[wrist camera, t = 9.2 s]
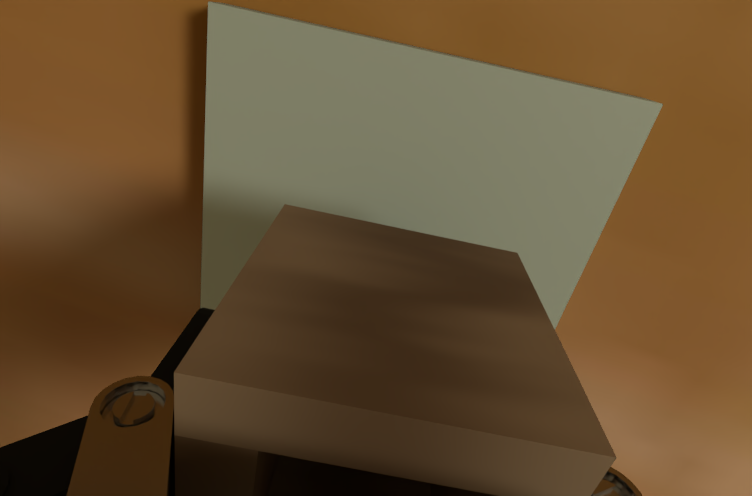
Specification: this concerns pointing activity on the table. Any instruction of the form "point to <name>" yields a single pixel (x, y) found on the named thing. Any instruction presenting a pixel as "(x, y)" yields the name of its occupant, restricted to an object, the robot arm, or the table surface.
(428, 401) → the collar
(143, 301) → the table surface
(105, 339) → the table surface
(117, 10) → the table surface
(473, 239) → the post board
